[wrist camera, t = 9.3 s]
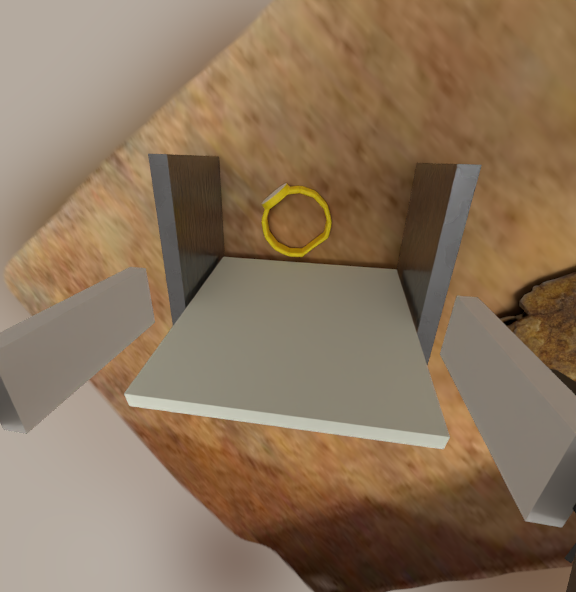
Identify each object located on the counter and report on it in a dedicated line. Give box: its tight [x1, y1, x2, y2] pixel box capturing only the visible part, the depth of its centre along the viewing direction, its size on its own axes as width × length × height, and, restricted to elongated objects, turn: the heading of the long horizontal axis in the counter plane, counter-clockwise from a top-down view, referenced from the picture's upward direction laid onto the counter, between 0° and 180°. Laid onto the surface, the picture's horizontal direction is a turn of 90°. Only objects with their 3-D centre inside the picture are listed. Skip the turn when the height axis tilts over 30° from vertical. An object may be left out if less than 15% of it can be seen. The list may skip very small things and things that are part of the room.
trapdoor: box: [124, 257, 450, 449], centre depth 22 cm, size 16×16×1 cm
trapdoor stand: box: [148, 154, 481, 444], centre depth 26 cm, size 19×21×9 cm
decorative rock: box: [500, 272, 576, 381], centre depth 27 cm, size 11×4×15 cm
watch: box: [261, 183, 332, 257], centre depth 27 cm, size 6×3×6 cm
